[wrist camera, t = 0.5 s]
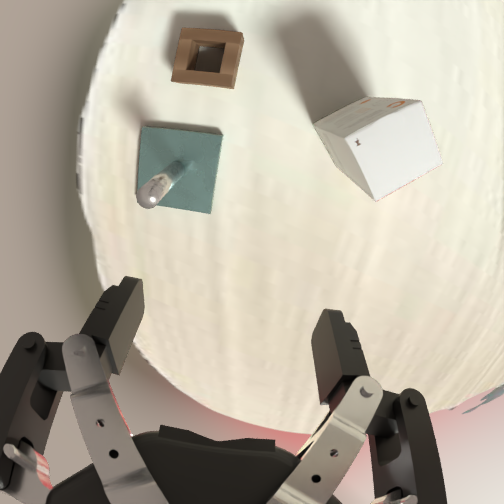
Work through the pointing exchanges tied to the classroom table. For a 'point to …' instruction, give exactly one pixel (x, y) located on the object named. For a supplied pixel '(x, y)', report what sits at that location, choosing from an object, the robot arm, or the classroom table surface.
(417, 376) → the classroom table surface
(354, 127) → the small box
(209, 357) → the classroom table surface
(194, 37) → the hollow block
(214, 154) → the post
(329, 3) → the classroom table surface
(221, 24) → the classroom table surface
